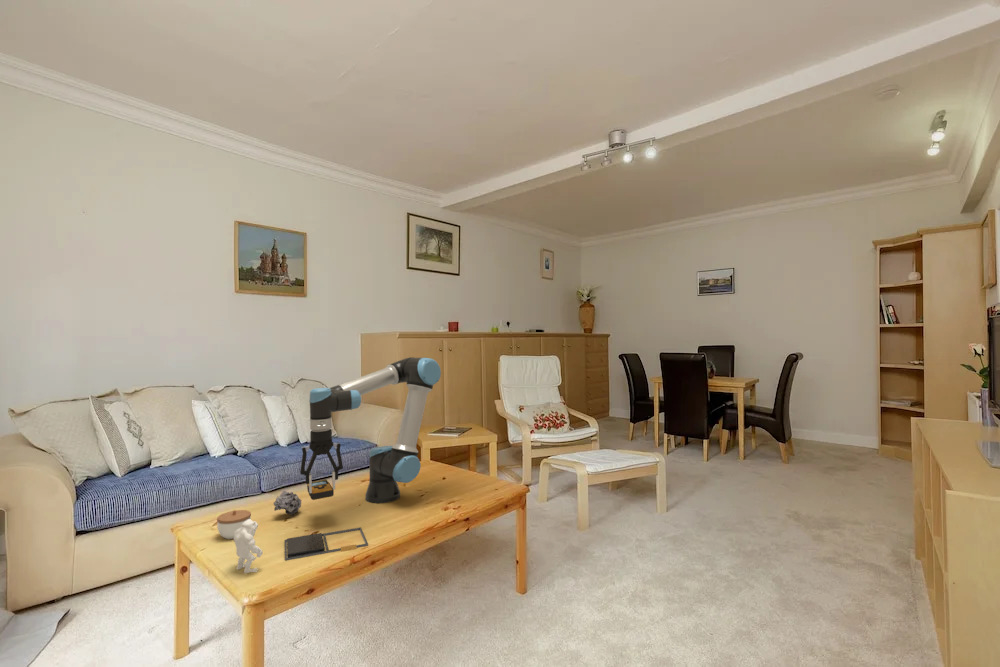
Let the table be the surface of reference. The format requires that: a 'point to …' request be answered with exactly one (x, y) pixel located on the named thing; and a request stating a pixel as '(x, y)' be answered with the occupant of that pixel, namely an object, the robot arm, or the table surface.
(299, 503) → the mineral specimen
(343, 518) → the table surface
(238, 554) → the figurine
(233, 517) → the lidded jar
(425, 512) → the table surface
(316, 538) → the grey flat frame
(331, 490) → the electronic device
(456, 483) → the table surface
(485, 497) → the table surface
